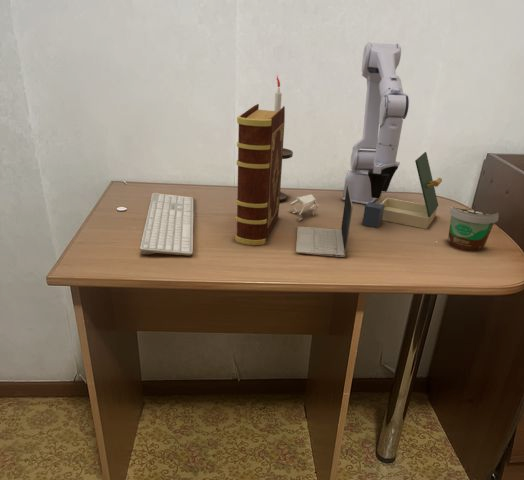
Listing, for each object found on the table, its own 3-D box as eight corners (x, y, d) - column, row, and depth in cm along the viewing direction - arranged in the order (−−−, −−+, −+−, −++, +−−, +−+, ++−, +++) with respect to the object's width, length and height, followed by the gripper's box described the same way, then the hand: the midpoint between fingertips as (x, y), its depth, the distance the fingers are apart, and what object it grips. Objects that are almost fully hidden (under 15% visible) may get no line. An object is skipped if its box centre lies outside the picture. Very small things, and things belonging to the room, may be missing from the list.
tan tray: (374, 218, 154) (375, 208, 152) (385, 207, 163) (386, 197, 162) (426, 229, 149) (429, 218, 147) (434, 217, 158) (437, 206, 156)
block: (362, 224, 149) (365, 205, 146) (366, 220, 153) (369, 201, 150) (377, 227, 148) (380, 208, 145) (381, 223, 151) (384, 204, 148)
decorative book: (263, 247, 132) (269, 120, 116) (233, 243, 133) (235, 117, 117) (279, 218, 151) (286, 105, 134) (252, 215, 152) (256, 103, 135)
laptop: (297, 228, 144) (301, 181, 137) (342, 232, 144) (348, 184, 136) (295, 254, 129) (299, 202, 122) (345, 258, 129) (353, 206, 121)
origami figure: (289, 208, 158) (290, 192, 156) (316, 210, 158) (318, 194, 156) (289, 222, 148) (290, 205, 146) (318, 223, 148) (320, 206, 146)
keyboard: (192, 257, 125) (192, 248, 123) (140, 257, 123) (139, 248, 122) (193, 199, 161) (193, 192, 160) (153, 199, 160) (152, 191, 158)
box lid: (415, 160, 141) (429, 156, 139) (424, 152, 150) (438, 148, 148) (428, 217, 147) (442, 214, 145) (436, 205, 156) (450, 202, 154)
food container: (437, 246, 138) (446, 209, 132) (442, 239, 142) (451, 203, 137) (486, 256, 133) (497, 219, 128) (489, 249, 138) (500, 212, 132)
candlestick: (248, 196, 166) (252, 74, 147) (273, 191, 173) (280, 72, 153) (271, 205, 160) (278, 78, 140) (296, 199, 166) (306, 77, 147)
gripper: (395, 151, 132) (386, 203, 140) (408, 141, 143) (399, 190, 151) (369, 147, 135) (361, 198, 142) (384, 137, 146) (376, 186, 153)
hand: (379, 194), depth 147 cm, fingers open, 7 cm apart
